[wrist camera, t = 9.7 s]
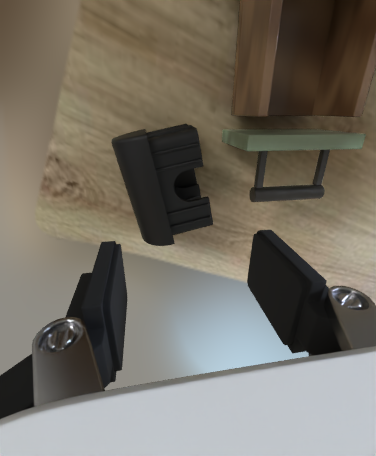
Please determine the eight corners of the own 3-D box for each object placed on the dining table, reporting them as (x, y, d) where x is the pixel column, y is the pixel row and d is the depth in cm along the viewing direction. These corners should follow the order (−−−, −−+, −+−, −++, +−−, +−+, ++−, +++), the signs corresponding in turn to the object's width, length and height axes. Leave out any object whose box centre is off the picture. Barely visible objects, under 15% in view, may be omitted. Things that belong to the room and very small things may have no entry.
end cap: (114, 135, 24) (105, 143, 18) (184, 119, 25) (197, 122, 19) (142, 223, 29) (143, 253, 23) (200, 209, 29) (216, 234, 23)
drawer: (303, 184, 29) (345, 202, 23) (219, 187, 27) (240, 209, 21) (350, -40, 21) (436, -102, 15) (233, -54, 19) (276, -129, 13)
